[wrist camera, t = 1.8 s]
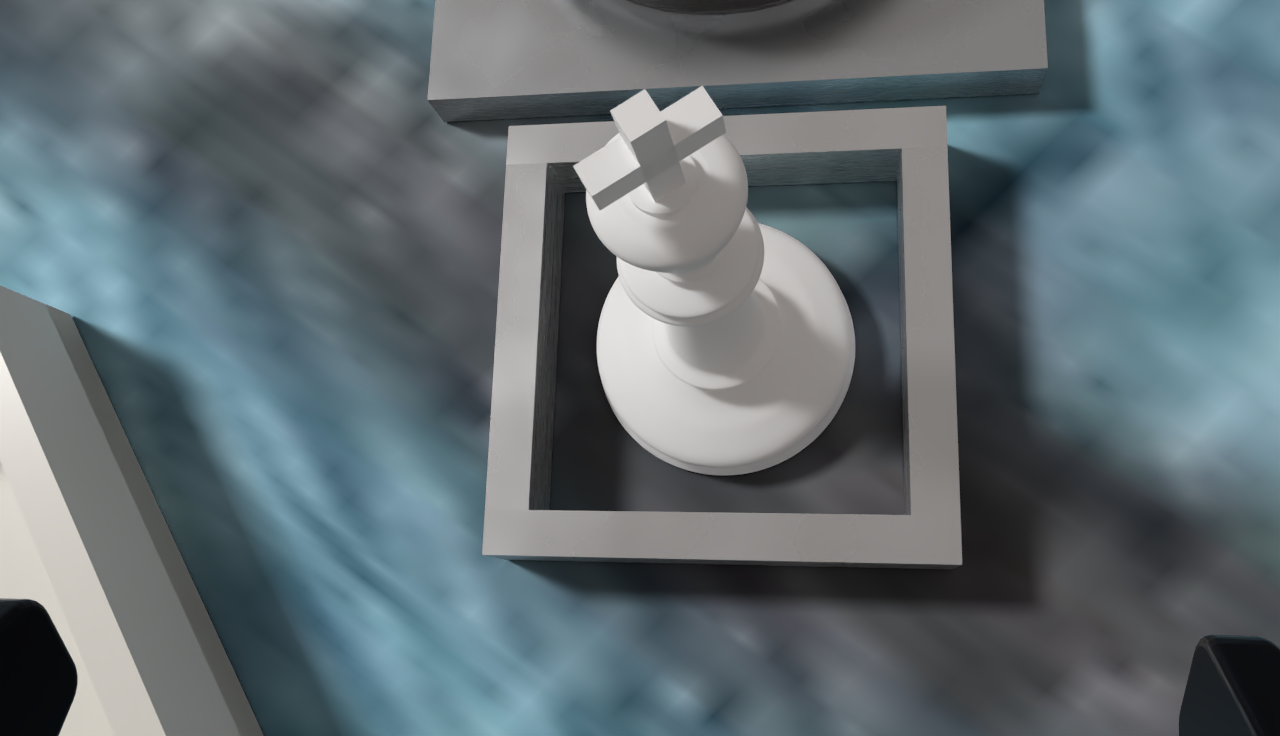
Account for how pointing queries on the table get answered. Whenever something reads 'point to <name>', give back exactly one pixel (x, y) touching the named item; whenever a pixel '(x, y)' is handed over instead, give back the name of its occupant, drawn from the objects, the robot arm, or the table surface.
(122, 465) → the tray
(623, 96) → the bracket
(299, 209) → the table surface
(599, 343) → the chess piece
